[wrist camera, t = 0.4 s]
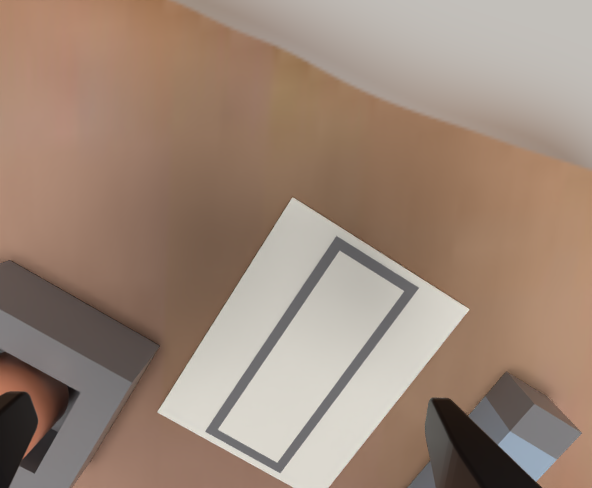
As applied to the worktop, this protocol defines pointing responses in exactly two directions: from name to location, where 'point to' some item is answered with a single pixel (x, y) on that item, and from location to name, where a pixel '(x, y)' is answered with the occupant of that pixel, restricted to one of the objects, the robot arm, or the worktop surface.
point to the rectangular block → (519, 428)
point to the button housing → (68, 370)
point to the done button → (34, 392)
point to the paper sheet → (310, 351)
